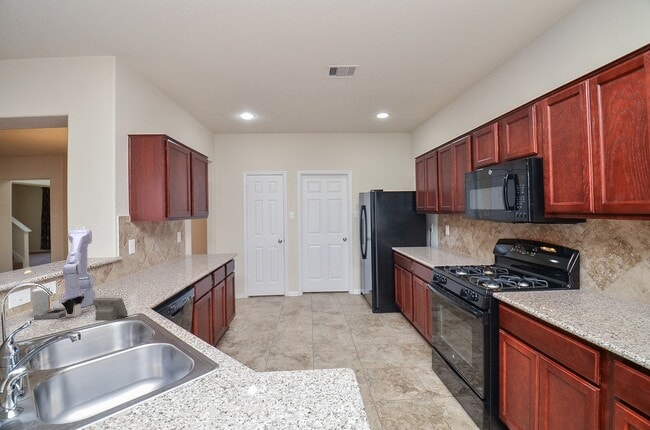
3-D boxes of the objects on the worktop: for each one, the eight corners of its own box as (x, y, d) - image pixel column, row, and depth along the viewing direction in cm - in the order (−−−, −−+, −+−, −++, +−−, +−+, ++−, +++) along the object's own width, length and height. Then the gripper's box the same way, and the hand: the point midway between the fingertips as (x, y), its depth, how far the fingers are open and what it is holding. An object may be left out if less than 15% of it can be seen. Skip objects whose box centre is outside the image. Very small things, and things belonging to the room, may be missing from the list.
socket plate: (54, 311, 161) (54, 307, 161) (77, 310, 162) (77, 306, 162) (34, 319, 149) (33, 314, 149) (59, 318, 150) (58, 313, 150)
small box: (49, 313, 158) (48, 289, 158) (32, 316, 154) (31, 291, 154) (50, 309, 165) (49, 286, 164) (34, 312, 161) (33, 288, 160)
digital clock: (129, 316, 151) (129, 295, 151) (112, 322, 142) (111, 300, 142) (107, 313, 156) (106, 293, 156) (89, 319, 147) (88, 298, 147)
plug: (72, 314, 156) (71, 302, 156) (81, 313, 156) (80, 301, 156) (66, 317, 152) (65, 304, 152) (75, 316, 152) (74, 304, 152)
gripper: (69, 289, 147) (70, 316, 147) (90, 282, 161) (91, 307, 161) (54, 290, 146) (55, 317, 146) (77, 283, 161) (78, 308, 161)
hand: (73, 312), depth 154 cm, fingers closed on plug, 4 cm apart
